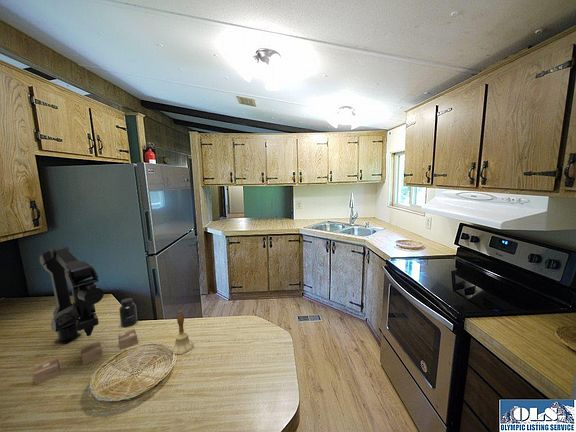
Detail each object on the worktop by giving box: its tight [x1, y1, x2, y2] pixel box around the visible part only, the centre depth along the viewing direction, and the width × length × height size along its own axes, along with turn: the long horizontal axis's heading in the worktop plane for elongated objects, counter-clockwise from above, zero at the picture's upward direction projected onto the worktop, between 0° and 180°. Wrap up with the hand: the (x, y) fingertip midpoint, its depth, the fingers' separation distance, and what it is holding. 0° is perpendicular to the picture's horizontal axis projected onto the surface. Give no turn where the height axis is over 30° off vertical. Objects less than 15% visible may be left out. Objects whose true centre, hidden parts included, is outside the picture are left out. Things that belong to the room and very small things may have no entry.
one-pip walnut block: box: [33, 356, 60, 385], centre depth 87 cm, size 6×6×4 cm
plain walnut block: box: [80, 341, 104, 366], centre depth 95 cm, size 6×6×4 cm
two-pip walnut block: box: [117, 328, 139, 350], centre depth 103 cm, size 6×6×4 cm
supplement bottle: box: [118, 297, 138, 328], centre depth 118 cm, size 7×7×12 cm
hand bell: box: [171, 309, 194, 355], centre depth 98 cm, size 8×8×16 cm
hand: (89, 335), depth 94 cm, fingers closed
